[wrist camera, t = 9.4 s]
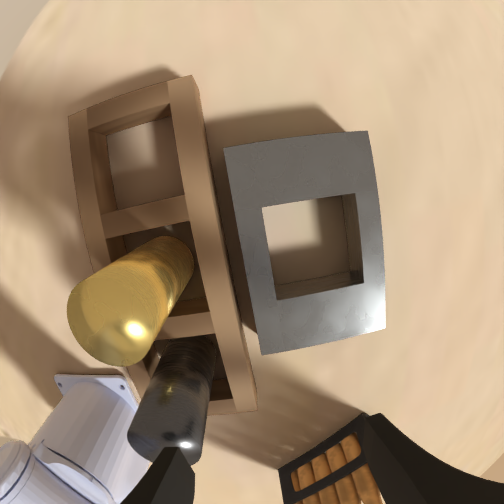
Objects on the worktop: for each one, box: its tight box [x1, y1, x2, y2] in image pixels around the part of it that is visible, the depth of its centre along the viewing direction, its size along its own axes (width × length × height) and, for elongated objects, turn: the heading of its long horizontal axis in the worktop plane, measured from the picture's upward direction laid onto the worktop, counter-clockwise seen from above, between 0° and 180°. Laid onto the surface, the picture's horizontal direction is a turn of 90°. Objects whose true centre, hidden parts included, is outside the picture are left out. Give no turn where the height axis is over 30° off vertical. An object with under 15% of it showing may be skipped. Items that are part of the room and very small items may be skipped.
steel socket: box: [223, 131, 385, 355], centre depth 17 cm, size 12×8×2 cm, turn 10°
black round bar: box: [127, 335, 216, 466], centre depth 15 cm, size 4×4×9 cm
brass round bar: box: [67, 236, 194, 367], centre depth 14 cm, size 4×4×9 cm
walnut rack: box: [68, 75, 258, 416], centre depth 17 cm, size 21×8×2 cm, turn 10°
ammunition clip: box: [278, 413, 383, 504], centre depth 16 cm, size 11×2×12 cm, turn 137°
